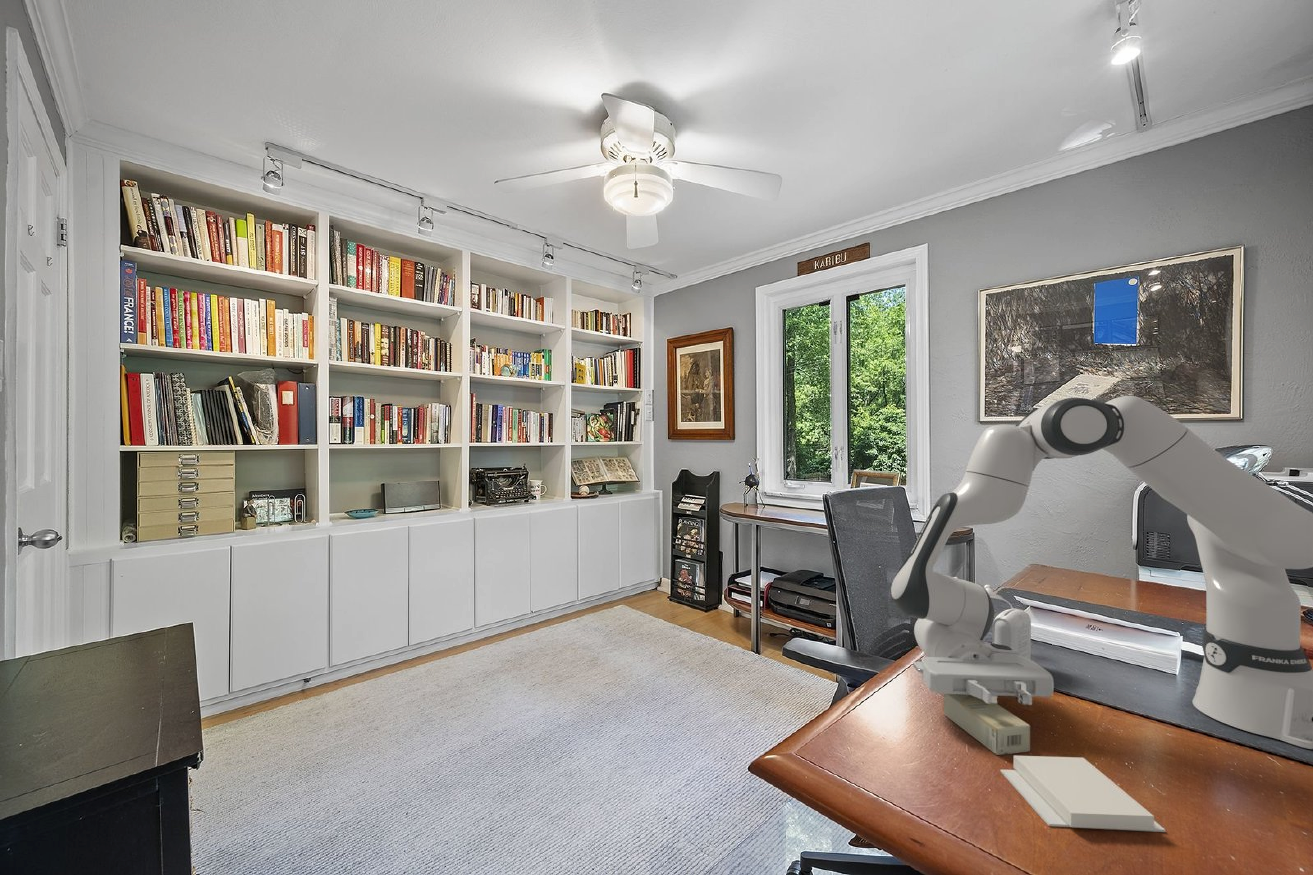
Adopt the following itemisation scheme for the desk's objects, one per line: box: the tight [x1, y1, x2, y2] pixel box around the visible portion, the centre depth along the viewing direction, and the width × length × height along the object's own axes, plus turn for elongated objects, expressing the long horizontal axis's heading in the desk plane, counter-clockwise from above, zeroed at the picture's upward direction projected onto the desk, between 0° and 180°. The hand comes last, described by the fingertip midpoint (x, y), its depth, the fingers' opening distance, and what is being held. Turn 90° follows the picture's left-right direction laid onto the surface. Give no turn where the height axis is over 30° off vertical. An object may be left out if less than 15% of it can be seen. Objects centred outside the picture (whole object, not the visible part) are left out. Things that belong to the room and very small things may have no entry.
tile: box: [1012, 755, 1155, 831], centre depth 74 cm, size 10×2×12 cm
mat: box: [999, 769, 1166, 833], centre depth 74 cm, size 14×11×1 cm
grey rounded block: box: [992, 607, 1032, 660], centre depth 114 cm, size 10×4×12 cm, turn 123°
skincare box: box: [943, 694, 1031, 756], centre depth 90 cm, size 6×4×12 cm
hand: (1010, 700), depth 86 cm, fingers open, 4 cm apart
